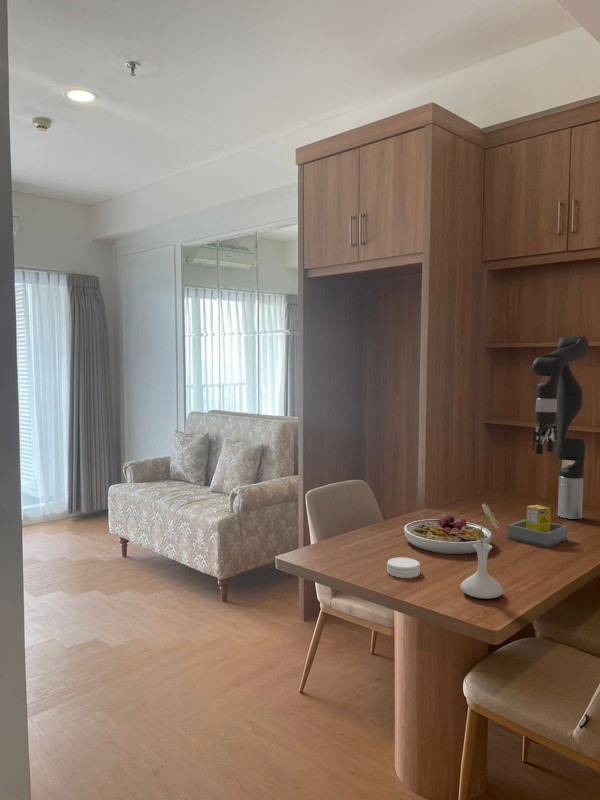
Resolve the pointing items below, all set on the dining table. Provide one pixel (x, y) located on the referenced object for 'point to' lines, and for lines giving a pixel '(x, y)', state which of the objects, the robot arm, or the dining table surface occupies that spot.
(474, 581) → the flower in vase
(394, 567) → the coaster
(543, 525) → the supplement box
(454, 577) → the dining table surface
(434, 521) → the bowl
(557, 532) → the box
